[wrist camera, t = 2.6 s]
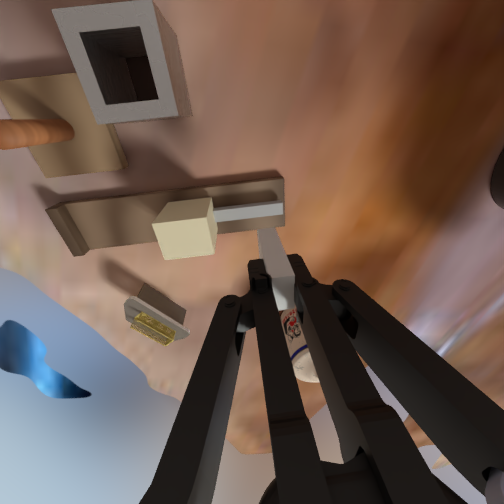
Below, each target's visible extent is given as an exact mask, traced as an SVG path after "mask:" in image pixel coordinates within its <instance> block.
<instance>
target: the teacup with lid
mask: <svg viewBox="0 0 504 504" xmlns="http://www.w3.org/2000/svg"><path fill="white" fill-rule="evenodd" d="M281 323H282V327H283V331H284V334H285V338H286V342H287V346H288V350H289V354H290V357H291V361H292V365H293V369H294V373H295V376H296V377H297V378H298V379H300V380H302V381H306V382H320V381H319V379H318V376H317V373H316V370H315V367H314V364H313V361H312V358H311V355H310V352H309V349H308V346H307V343H306V341H305V338H304V335H303V332H302V329H301V326H300V323H299V320H298V323H296V305H295V308H293V309H285V310H284V311H283V313H282V315H281Z"/></svg>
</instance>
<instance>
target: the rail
mask: <svg viewBox="0 0 504 504" xmlns="http://www.w3.org/2000/svg"><path fill="white" fill-rule="evenodd" d="M209 197H212V202H213V207H214V208H218V207H226V206H235V205H243V204H252V203H260V202H269V201H277V200H281V201H282V202H283V214H281V215H273V216H264V217H256V218H248V219H239V220H231V221H222V222H216V223H217V228H218V230H217V234H224V233H232V232H241V231H249V230H257V229H265V228H273V227H282V226H285V201H284V178H283V177H275V178H267V179H258V180H249V181H241V182H232V183H224V184H215V185H207V186H198V187H189V188H181V189H172V190H164V191H155V192H146V193H138V194H129V195H121V196H112V197H103V198H95V199H86V200H78V201H69V202H60V203H58V204H56V205H54V206H52V207H50V208H48V209H46V210H45V211H46V212H47V214H48V216H49V217H50V219H51V220H52V222H53V224H54V225H55V227H56V229H57V230H58V232H59V233H60V235H61V237H62V238H63V240H64V241H65V243H66V245H67V246H68V248H69V250H70V251H71V253H72V254H73V256H74V257H75V256H83V255H85V254H86V253H87V252H88V251H89V250H90V249H99V248H107V247H115V246H124V245H132V244H141V243H149V242H157V241H158V240H157V237H156V235H155V232H154V229H153V226H152V223H153V221H154V220H155V219H156V217H157V216H158V215H159V213H160V212H161V211H162V209H163V208H164V207H165V206H166V204H167V203H168V202H175V201H183V200H192V199H200V198H209Z"/></svg>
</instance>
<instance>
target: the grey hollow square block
mask: <svg viewBox="0 0 504 504" xmlns="http://www.w3.org/2000/svg"><path fill="white" fill-rule="evenodd" d="M51 10H52V13H53V15H54V18H55V20H56V23H57V25H58V28H59V30H60V33H61V35H62V38H63V40H64V43H65V45H66V48H67V50H68V53H69V55H70V58H71V60H72V63H73V65H74V68H75V70H76V73H77V75H78V78H79V80H80V82H81V85H82V87H83V90H84V92H85V95H86V97H87V100H88V102H89V105H90V107H91V110H92V112H93V115H94V117H95V120H96V122H97V125H100V124H118V123H135V122H144V121H153V120H162V119H171V118H180V117H189V116H193V115H192V110H191V105H190V100H189V95H188V90H187V85H186V80H185V75H184V70H183V65H182V60H181V55H180V50H179V45H178V40H177V35H176V34H175V32H174V31H173V29H172V28H171V27H170V25H169V24H168V22H167V21H166V19H165V18H164V16H163V15H162V13H161V12H160V10H159V9H158V7H157V6H156V5H155V3H154V2H153V0H135V1H125V2H116V3H106V4H96V5H87V6H77V7H67V8H57V9H51ZM139 56H148V59H149V63H150V67H151V71H152V74H153V78H154V82H155V86H156V90H157V94H158V97H159V99H158V100H149V101H140V102H138V99H137V95H136V92H135V89H134V86H133V82H132V79H131V76H130V72H129V69H128V66H127V62H126V59H125V58H130V57H139Z"/></svg>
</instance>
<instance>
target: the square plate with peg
mask: <svg viewBox="0 0 504 504" xmlns="http://www.w3.org/2000/svg"><path fill="white" fill-rule="evenodd" d="M0 98H1V100H2V102H3V104H4V105H5V107H6V109H7V111H8V112H9V114H10V116H11V118H12V119H7V120H0V149H2V150H7V149H14V148H21V147H29V149H30V151H31V153H32V154H33V156H34V158H35V160H36V161H37V163H38V165H39V167H40V169H41V170H42V172H43V174H44V176H45V177H46V178H51V177H60V176H69V175H78V174H86V173H95V172H104V171H112V170H121V169H125V168H127V167H129V165H128V163H127V160H126V157H125V155H124V152H123V149H122V146H121V144H120V141H119V138H118V136H117V133H116V130H115V127H114V125H113V124H100V125H97V122H96V120H95V117H94V115H93V112H92V110H91V107H90V105H89V102H88V100H87V97H86V95H85V92H84V90H83V87H82V85H81V82H80V80H79V78H78V75H77V73H68V74H59V75H50V76H40V77H31V78H22V79H12V80H3V81H0Z"/></svg>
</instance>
